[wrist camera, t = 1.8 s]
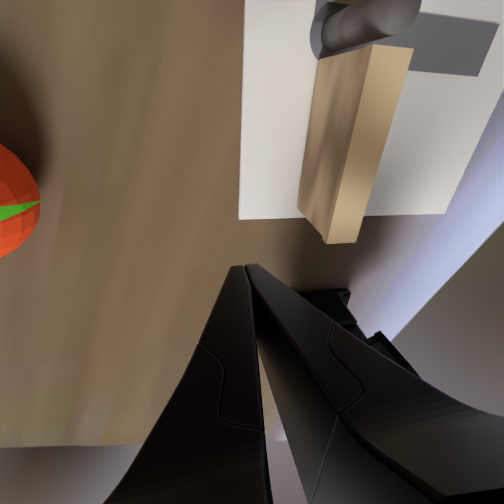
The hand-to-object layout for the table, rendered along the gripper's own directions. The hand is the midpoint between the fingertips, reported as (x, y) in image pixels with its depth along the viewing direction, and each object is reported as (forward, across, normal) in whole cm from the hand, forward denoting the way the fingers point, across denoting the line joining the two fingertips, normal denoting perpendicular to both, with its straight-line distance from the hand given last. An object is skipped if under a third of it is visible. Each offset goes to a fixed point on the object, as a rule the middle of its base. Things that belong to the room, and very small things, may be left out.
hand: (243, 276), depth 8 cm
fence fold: (+11, -7, -2) cm, 13 cm away
